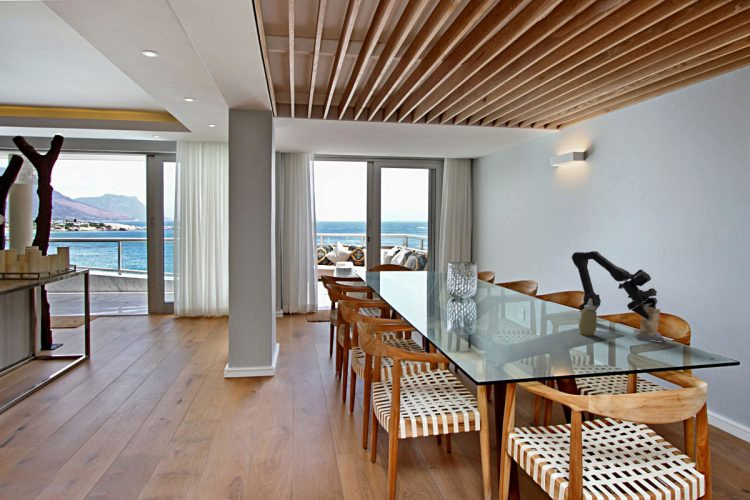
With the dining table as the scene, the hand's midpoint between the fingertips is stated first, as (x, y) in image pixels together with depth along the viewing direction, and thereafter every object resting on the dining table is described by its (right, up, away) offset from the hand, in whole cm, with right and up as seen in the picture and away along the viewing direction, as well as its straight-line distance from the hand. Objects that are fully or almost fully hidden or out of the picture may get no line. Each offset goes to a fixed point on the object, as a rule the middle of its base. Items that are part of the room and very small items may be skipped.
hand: (653, 318), depth 221 cm
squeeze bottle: (-32, -9, +2) cm, 33 cm away
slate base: (-1, -10, +2) cm, 11 cm away
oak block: (-1, -8, +2) cm, 8 cm away
